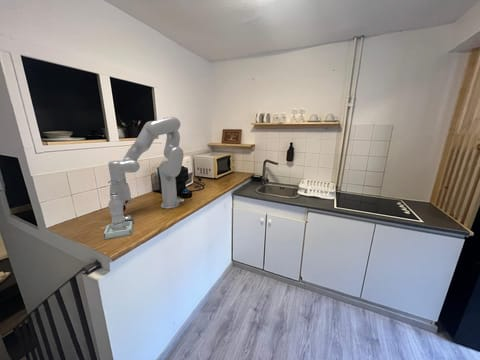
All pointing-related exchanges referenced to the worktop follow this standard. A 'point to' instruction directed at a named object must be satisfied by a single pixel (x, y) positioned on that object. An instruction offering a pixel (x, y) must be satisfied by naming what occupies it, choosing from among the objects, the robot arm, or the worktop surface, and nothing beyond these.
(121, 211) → the metal bottle
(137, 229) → the worktop surface
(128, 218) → the crank
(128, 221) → the crank base
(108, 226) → the tray
